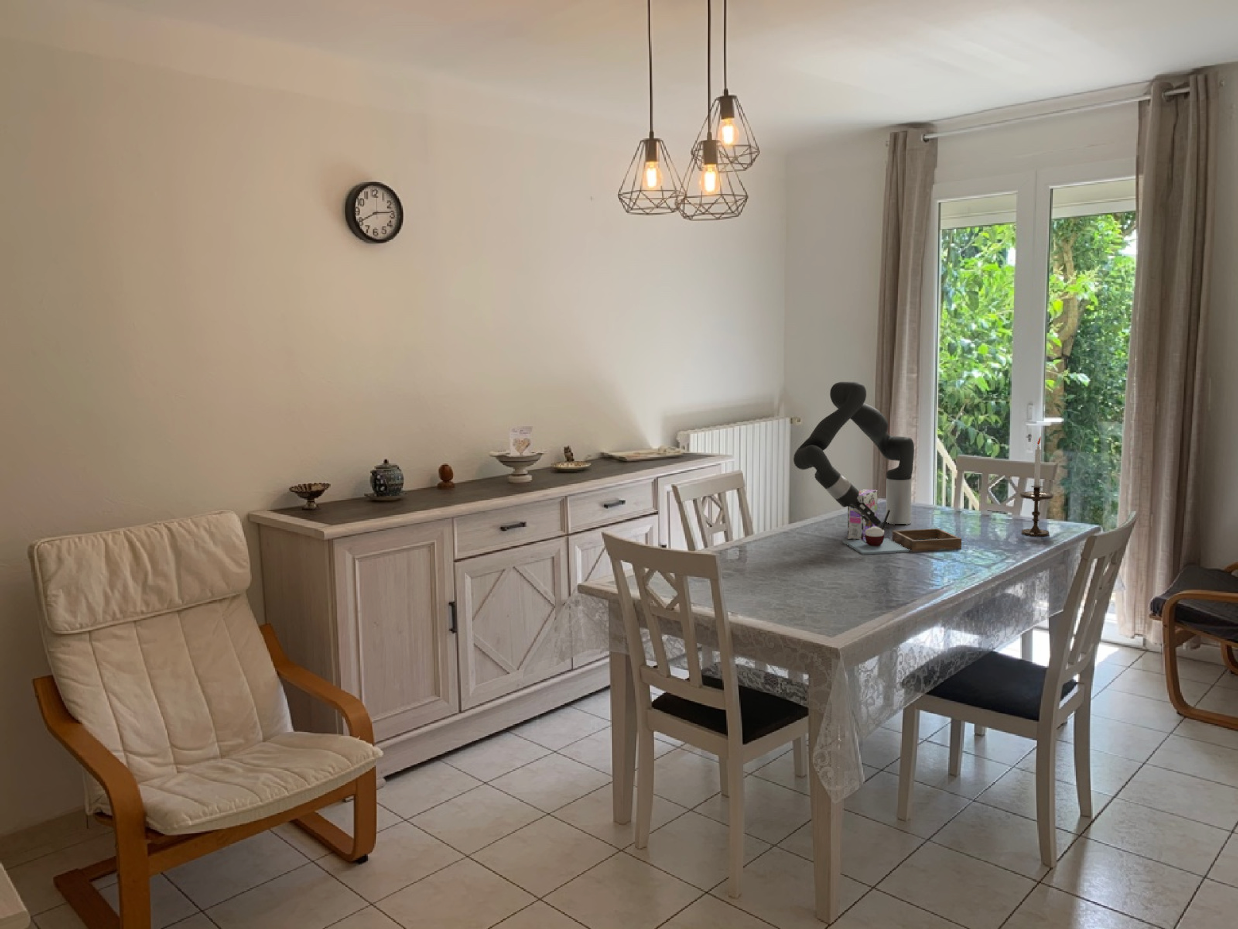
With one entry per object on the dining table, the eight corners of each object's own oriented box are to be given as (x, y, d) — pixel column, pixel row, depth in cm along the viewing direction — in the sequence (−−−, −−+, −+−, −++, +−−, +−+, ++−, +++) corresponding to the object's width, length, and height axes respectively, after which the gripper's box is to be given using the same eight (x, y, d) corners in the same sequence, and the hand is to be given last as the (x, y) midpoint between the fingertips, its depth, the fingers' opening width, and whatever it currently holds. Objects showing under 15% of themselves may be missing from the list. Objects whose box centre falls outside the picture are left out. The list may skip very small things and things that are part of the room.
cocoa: (860, 547, 316) (858, 512, 314) (864, 542, 322) (863, 508, 320) (888, 548, 312) (887, 513, 310) (892, 543, 317) (891, 509, 315)
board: (843, 542, 325) (843, 540, 325) (887, 540, 326) (887, 538, 326) (862, 554, 307) (862, 552, 307) (909, 552, 309) (909, 549, 309)
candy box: (862, 541, 326) (863, 495, 324) (846, 539, 330) (847, 493, 328) (877, 534, 337) (878, 489, 335) (862, 532, 341) (862, 488, 339)
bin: (892, 540, 326) (892, 530, 326) (938, 538, 328) (938, 528, 327) (912, 551, 309) (913, 541, 309) (961, 548, 311) (961, 538, 311)
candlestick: (1045, 530, 335) (1049, 434, 330) (1056, 537, 325) (1060, 437, 320) (1014, 530, 336) (1017, 434, 332) (1024, 537, 326) (1027, 438, 321)
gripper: (857, 485, 305) (890, 517, 308) (841, 478, 319) (873, 510, 322) (841, 501, 306) (874, 534, 308) (826, 494, 320) (858, 525, 322)
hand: (873, 521), depth 315 cm, fingers open, 8 cm apart
